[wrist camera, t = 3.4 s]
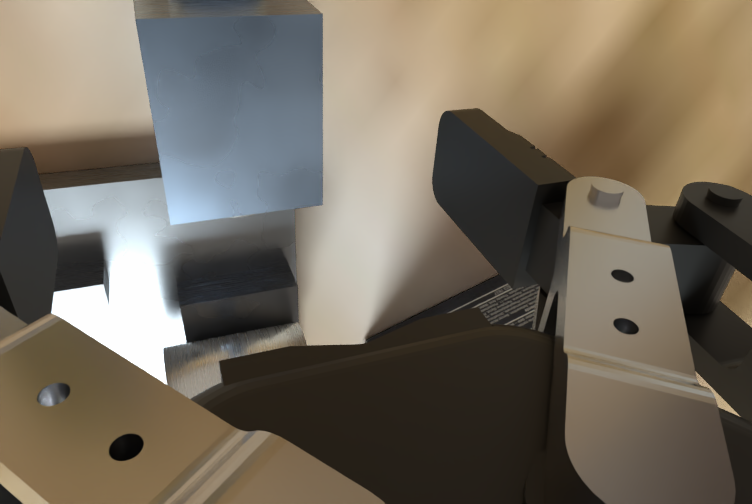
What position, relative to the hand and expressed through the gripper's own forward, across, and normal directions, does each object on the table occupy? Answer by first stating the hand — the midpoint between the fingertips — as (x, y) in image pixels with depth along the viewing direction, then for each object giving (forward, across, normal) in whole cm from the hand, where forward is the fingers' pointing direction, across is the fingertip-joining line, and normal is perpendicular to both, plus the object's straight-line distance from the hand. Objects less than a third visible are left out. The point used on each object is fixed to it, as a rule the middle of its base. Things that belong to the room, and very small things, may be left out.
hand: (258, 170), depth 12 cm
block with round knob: (+10, 0, 0) cm, 10 cm away
